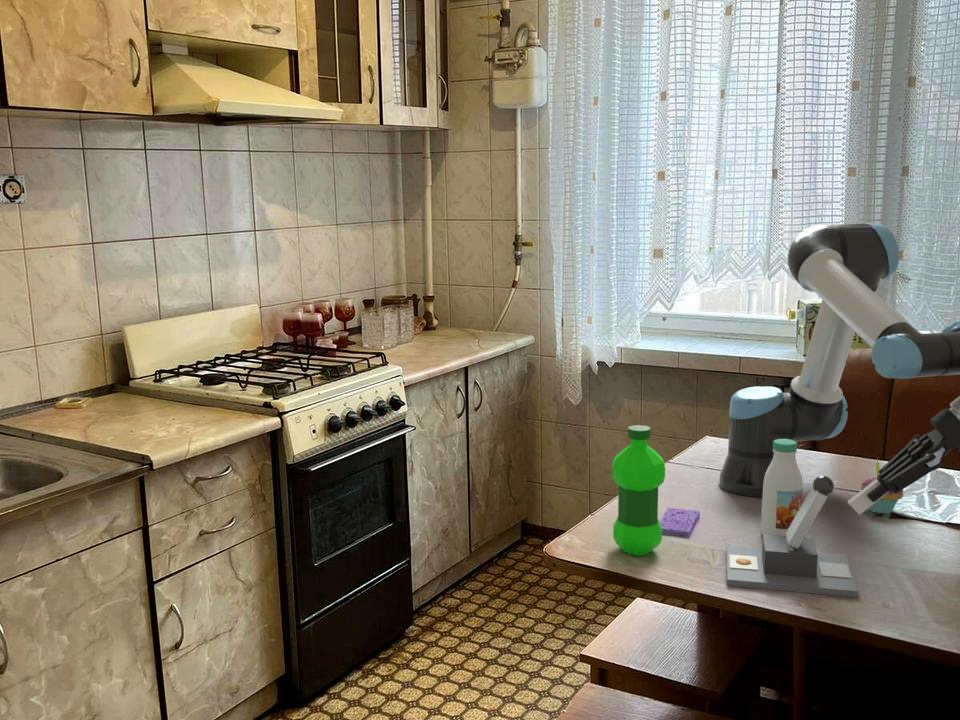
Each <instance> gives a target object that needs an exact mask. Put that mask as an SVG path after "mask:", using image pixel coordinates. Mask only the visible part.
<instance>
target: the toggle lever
mask: <svg viewBox="0 0 960 720" xmlns="http://www.w3.org/2000/svg"><path fill="white" fill-rule="evenodd" d="M834 483H835V482H834V481H833V479H832V478H831V477H829V476H827V475H820V476H817V477H815V478H814V480H813V482H812V487H811V489H810V490H809V492H808V494H807V495H806V497H805V499H804V501H802V506H801V507H800V509H799V511H798V513H797V514H796V516H795V518H794V520H793V521H792V523H791V525H790V527H789V528H788V530H787V532H786V535H787V541H788V545H790V546H793V547H795V548H797V549H798V547H799V546H800V544H801V542H802V540H803V539H804V537H805V538H806V535H807V534H808V532H809V530H810V528H811V526H812V525H813V523H814V521H815V520H816V518H817V516H818V514H819V512H820V511H821V509H822V507H823V506H824V504H825V503H826V500H827V499H828V497H829V495H830V494H832V493H833V491H834V489H835V484H834Z"/></svg>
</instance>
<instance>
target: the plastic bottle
mask: <svg viewBox="0 0 960 720" xmlns="http://www.w3.org/2000/svg"><path fill="white" fill-rule="evenodd" d="M627 428H628V429H627V430H628V432H627V433H628V434H627V435H628V437H627V438H629V439H630V444H629V445H628V446H626V447H624V448H623V449H622V450H621V451H619V453H617V454H616V455H615V456H614V459H613V461H612V465H611V466H612V467H611V468H612V472H611V473H612V478H613V482H615V484H616V485H617V486H618V497H617V498H618V504H617V505H618V506H617V507H618V508H617V510H618V511H617V514H618V515H617V517H616V519H615V521H614V524H613V531H612V532H613V535H612V536H613V537H612V538H613V539H614V542H615V544H616V545H617V546H618V547H619V548H620V549H622V550H623V552H625V553H626V552H627V554H628V553H629V554H628V555H631V554H634V555H633V556H637V555H638V556H646V555H648V554H650V553H651V552H652V551H653V550H654V549H656V548H657V547H659V545H660V544H661V541H662V539H663V534H662V528H661V525H660V520H659V518H658V515H659V514H658V513H659V487H660V486H661V485H662V484H664V482H665V478H666V466H665V461H664V459H663V457H662V456H661V455H660V454H659V453H658V452H657V451H656V450H655V449H654V448H652V447H651V446H649V445H648V440H649V439H651V427H650V426H647V425H643V424H641V425H640V424H638V425H637V424H636V425H635V424H634V425H630V426H628V427H627ZM649 552H650V553H649ZM647 553H648V554H647ZM645 554H646V555H645Z"/></svg>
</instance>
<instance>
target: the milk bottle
mask: <svg viewBox="0 0 960 720" xmlns="http://www.w3.org/2000/svg"><path fill="white" fill-rule="evenodd" d="M797 450H798V441H793V440H789V439H777V440H774V442H773V452H774V456H773V459H772V462H771V464H770V465H769V467H768V469H767V471H766V473H765V477H764V483H763V497H762V498H761V499H762V500H761V502H762V503H761V516H760V517H761V521H760V532H761V535H762V536H763V534H767V535H780V536H787V535H786V532H787V530H788V528H789V527H790V525H791V523H792V521H793V520H794V518H795V516H796V514H797V513H798V511H799V509H800V507H801V506H802V504H803V494H804V491H803V488H804V483H803V475H802V473H801V470H800V468H799V466H798V462H797V459H796V455H797V453H798V451H797Z"/></svg>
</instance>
